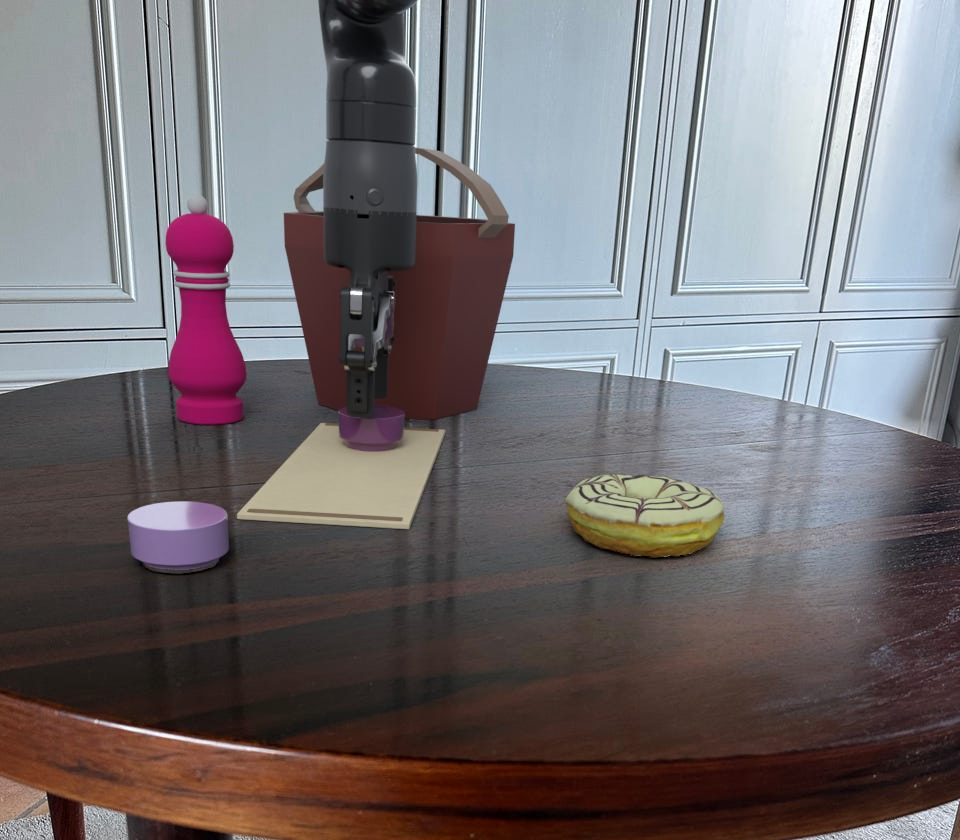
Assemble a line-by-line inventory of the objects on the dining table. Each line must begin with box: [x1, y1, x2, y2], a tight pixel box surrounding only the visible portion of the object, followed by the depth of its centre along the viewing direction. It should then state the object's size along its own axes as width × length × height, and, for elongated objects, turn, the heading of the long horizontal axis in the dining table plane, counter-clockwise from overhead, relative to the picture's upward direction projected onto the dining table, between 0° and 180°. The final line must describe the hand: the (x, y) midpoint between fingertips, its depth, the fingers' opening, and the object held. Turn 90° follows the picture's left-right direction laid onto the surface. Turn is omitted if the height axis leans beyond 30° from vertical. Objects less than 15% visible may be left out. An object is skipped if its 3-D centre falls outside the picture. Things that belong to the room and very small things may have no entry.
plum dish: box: [337, 405, 406, 452], centre depth 90 cm, size 6×6×3 cm
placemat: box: [236, 422, 446, 530], centre depth 84 cm, size 12×30×1 cm, turn 177°
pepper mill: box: [165, 193, 248, 426], centre depth 95 cm, size 7×7×20 cm
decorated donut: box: [564, 474, 725, 558], centre depth 70 cm, size 10×11×4 cm
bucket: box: [283, 146, 516, 421], centre depth 106 cm, size 24×22×25 cm
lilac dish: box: [126, 500, 230, 570], centre depth 62 cm, size 6×6×3 cm
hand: (368, 406), depth 89 cm, fingers open, 8 cm apart
